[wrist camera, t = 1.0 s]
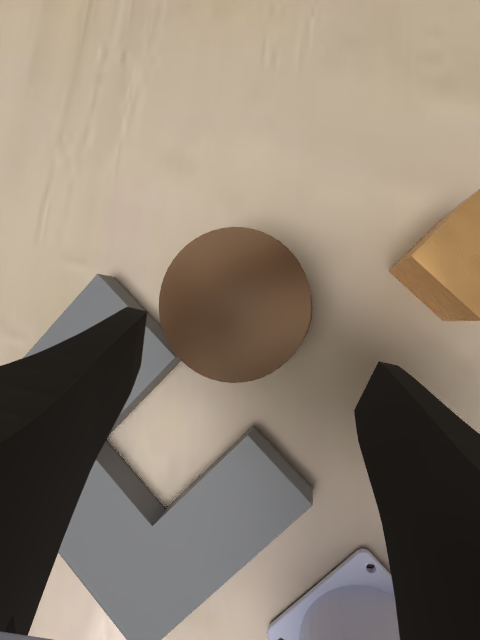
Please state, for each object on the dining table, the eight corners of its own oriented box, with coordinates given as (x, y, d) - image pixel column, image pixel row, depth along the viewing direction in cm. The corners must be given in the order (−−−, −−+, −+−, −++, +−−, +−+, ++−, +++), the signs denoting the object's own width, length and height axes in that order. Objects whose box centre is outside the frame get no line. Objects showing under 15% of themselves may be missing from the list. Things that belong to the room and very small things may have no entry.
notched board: (312, 488, 22) (312, 505, 20) (155, 629, 24) (140, 657, 22) (115, 277, 24) (97, 273, 23) (-13, 420, 26) (-40, 428, 24)
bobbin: (337, 308, 22) (345, 303, 16) (253, 390, 23) (231, 414, 17) (253, 227, 23) (231, 195, 17) (176, 309, 24) (130, 305, 18)
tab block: (499, 268, 20) (559, 251, 15) (442, 320, 21) (482, 320, 16) (442, 218, 21) (482, 187, 16) (388, 270, 21) (410, 255, 16)
